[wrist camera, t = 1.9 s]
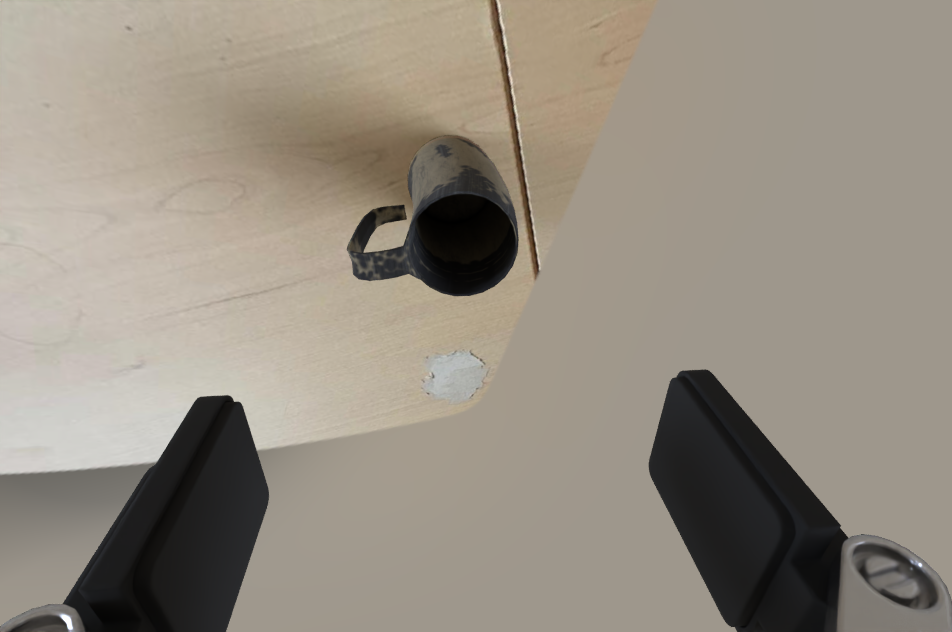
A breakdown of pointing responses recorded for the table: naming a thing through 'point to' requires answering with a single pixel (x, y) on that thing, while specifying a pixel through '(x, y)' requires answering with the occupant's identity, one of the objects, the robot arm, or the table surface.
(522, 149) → the table surface
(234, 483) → the robot arm
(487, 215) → the mug
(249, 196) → the table surface
